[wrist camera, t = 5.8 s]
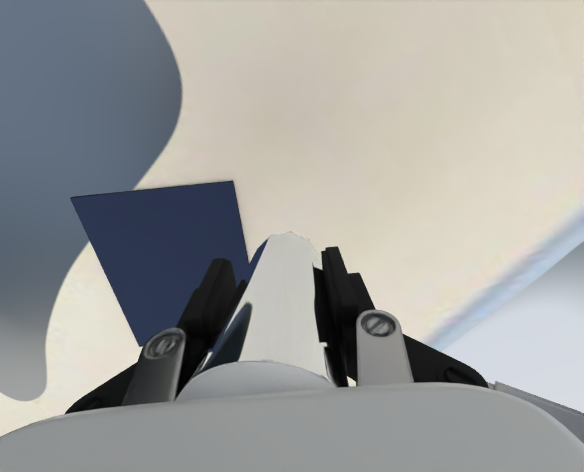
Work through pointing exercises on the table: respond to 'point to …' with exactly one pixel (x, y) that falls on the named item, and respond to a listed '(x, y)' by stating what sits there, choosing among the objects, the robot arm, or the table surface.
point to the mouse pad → (162, 246)
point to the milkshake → (273, 329)
